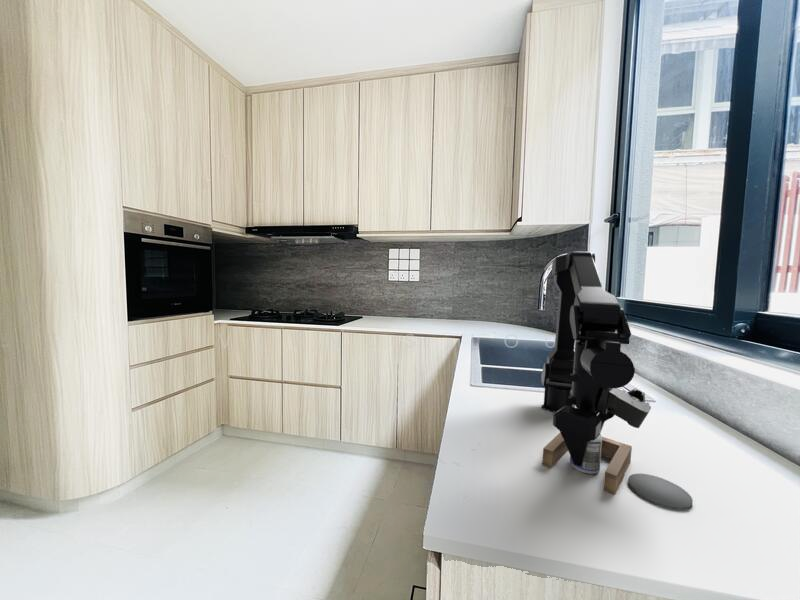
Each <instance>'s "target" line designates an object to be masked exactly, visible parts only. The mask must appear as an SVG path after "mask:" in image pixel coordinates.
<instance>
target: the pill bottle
mask: <svg viewBox="0 0 800 600" xmlns="http://www.w3.org/2000/svg"><path fill="white" fill-rule="evenodd" d="M600 430H601V429H600ZM601 431H602V430H601ZM602 437H603V435H602V434H600V435H599V436H598V437H597V438H596V439H595V440H592V441H589V443H588V446H587V450H586V453H585V457H584V460H583V463H582V466H581V467H579V466H577V465H575V464H574V463H573V460H572V458H571V455H570V454H569V455H570V456H569V463H570V465H571V466H572V467H573V468H574V470H577V471H580V472H582V473H585V474H590V475H593V474H598V473H599V472H600V470H601V463H602V461H601V460H602V455H601V450H602Z"/></svg>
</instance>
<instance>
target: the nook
mask: <svg viewBox="0 0 800 600" xmlns="http://www.w3.org/2000/svg"><path fill="white" fill-rule="evenodd" d="M632 450H633V449H632V445H629V444H627V443H623V442H620V441H617V440H614V439H611V438H607V437H606V436H602V450H601V457H602V456H603V457H606V458H608V459H611V460H610V462H609V464H608V465H607V467H606V469H605V471H604V478H603V479H604V480H603V487H602V488H603V490H604V491H606V492H609V493H610V494H614V495H616V494H617V492H618V489H619V487H620V485H621V483H622V481H623V479H624V476H625V474H626V472H627V470H628V468H629V466H630V465H631V459H632ZM567 451H568V448H567V446H566V444H565V441H564V439H563V437H562V435H561V433H560V432H559V433H558V434H557V435H555V436H554V437H553V439H552V440H550V441H549V442H548V443H547V444H546V445H545V446H544V447H543V449H542V459H541V460H542V463H541V465H544V466H546V467H549V468H553V467H554V466H555V465H556V464H557V463H558V461H559V460H560V459H561V458H562V457H563V456H564V455H565V454H566V453H567Z"/></svg>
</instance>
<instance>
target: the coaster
mask: <svg viewBox="0 0 800 600" xmlns="http://www.w3.org/2000/svg"><path fill="white" fill-rule="evenodd" d="M627 483H628V486H629V488H630V489H631V490H632V492H633V493H635V494H637V495H638V496H639V497H641V498H642V499H644V500H646V501H648V502H650V503H652V504H655V505H658V506H659V507H663V508H666V509H671V510H676V511H685V510H689V509H691V508H692V507H693V497H692V496H691V494H689V492H688V491H686V490H685V489H683V488H682V487H681V486H679V485H677V484H676V483H674V482H672V481H669V480H667V479H664V478H662V477H661V476H660V477H659V476H657V475H656V476H655V475H651V474H647V473H633V474H630V475H629V476H628V478H627Z"/></svg>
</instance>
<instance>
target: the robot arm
mask: <svg viewBox="0 0 800 600" xmlns="http://www.w3.org/2000/svg"><path fill="white" fill-rule="evenodd" d="M551 275H552V276H553V282H554V284H555V286H556V287H557V290H558V291H559V294H558V302H557V303H558V305H557V318H556V328H555V338H554V347H553V348H552V350H550V352H549V353H548V354H547V355H546V362H544V363H543V367H542V371H541V375H540V376H541V377H540V379H541V381H540V382H541V384H542V386H543V387H544V394H543V395H544V397H543V404H541V406H540V408H541V409H543V410H548V411H551V412H554V413H553V415H552V416H553V419H552V425H553V426H554V427H555V428H556V429H557V430H558V431H559V433H561V435H562V437H563V439H564V441H565V444H566V446H567V448H568V450H567V451H568V453H569V455H571V458H572V460H573V463H574V464H575V465H577V466H579V467H581V466H582V463H583V460H584V457H585V453H586V450H587V446H588V443H589V441H592V440H595V439H596V438H597V437H598V436H599V435H601V432H602V430H603V427H604V425H605V422H606V421H608V420H610V419H612V418H614V417H615V416H616V417H618V418H620V419H621V420H623V421H624V422H626V423H627V424H628V425H629V426H631V427H633V428H636V429H640V427H641V426H642V424H643V423H644V421H645V419H646V418H647V416H648V414H649V413H650V412H651V409H652V406H651V405H650V403H649V402H648V401H647V402H646V395H645V394H646V393H645V391H642V390H640V389H638V388H633V389H631V390H629V391H627V392H626V390H624V389H623V390H622V389H619V388H623V387H625V386H626V385H628V384H629V383H630V382H631V381H632V380H633V378H634V375H635V373H636V370H635V369H636V368H635V365H634V363H633V361H632V359H631V358H630V357H629V355H627V353H624V352H622V351H621V348H622V345H629V344H630V337H631V335H632V331H631V329H630V326H629V323H628V318H627V316H626V314H625V310H624V309H623V307H621V304H620V303H619V302H618V300H617V298H616V296H615V295H614V294H612V293H610V292H608V291H606V290H605V289H604V287H603V284H602V281H601V278H600V274H599V273H598V268H597V266H596V253H595V252H592V251H589V250H588V251H587V250H586V251H581V250H580V251H579V250H578V251H576V250H575V251H570V252H567V253H566V254H564V255H560V256H556V257H555V258H554V259H553V261H552V264H551ZM600 429H601V430H600Z"/></svg>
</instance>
